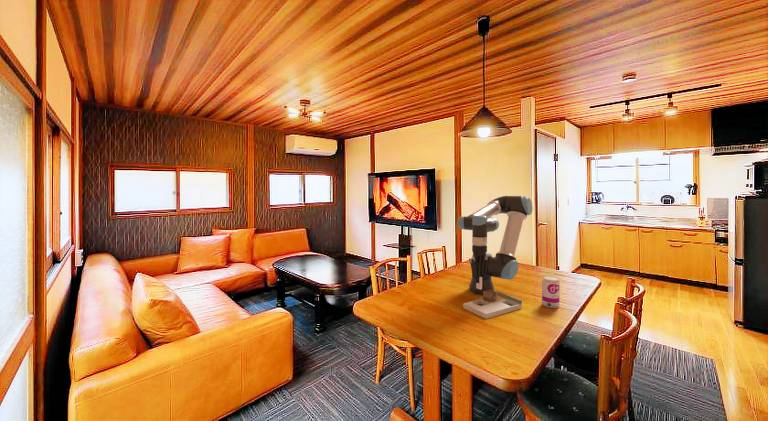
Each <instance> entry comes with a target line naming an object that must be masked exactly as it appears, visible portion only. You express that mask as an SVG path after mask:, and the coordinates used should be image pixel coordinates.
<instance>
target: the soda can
mask: <svg viewBox="0 0 768 421" xmlns="http://www.w3.org/2000/svg"><path fill="white" fill-rule="evenodd" d="M541 281H542V284H541V285H542V287H541V288H542V289H541V304H542V305H543V307H545V308H550V309H557V308H559V307H560V296H561V295H560V290H561V288H560V286H561V282H560V280H559V278H558V277H554V276H544V277H543V279H542V280H541Z"/></svg>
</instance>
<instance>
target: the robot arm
mask: <svg viewBox="0 0 768 421" xmlns="http://www.w3.org/2000/svg"><path fill="white" fill-rule="evenodd" d="M532 212H533V202H532V200H531V198H530V197H529V196H526V195H503V196H499V197H497V198H494V199H492V200H490V201H489V202H488V203H487V204H486V205H485V206H483V207H481V208H479V209H478V210H476V211H473V213H471V214H469V215H467V216H459V218H458V220H457V227H458V228H459V229H460V230H465V231H472V232H471V233H472V236H471V237H472V238H471V239H472V240H471V243H472V245H471V251H472V256H471V258H469V259H468V261H469V263H470V267H471V268H470V269H471V279H470V283H469V285H468V291H469V292H471V293H474V294H477V295H483V291H486V290H492V291H495V287H494V283H493V281H492V280H493V279H492V277H493V278H497V279H501V280H509V281H510V280H513V279H514V278H515V277H516V276H517V274H518V272H519V262H518V261H517V257H516V256H515V254H516V251H517V247H518V244H519V243H518V242H519V238H520V234H521V231H522V230H521V229H522V228H523V227H522V226H523V223H524V220H526V219H527V217H528V216H530V215H532ZM499 214H506V215H507V217H508V218H507V221H506V226H505V230H504V233H503V237H502V241H501V244H500V247H499V248H500V249H499V251H498V252H496V253H495V256H493V254H492V253H488V245H487V244H488V233H491V232H492V233H493V232H495V231H497V230H498V229H499V227H500V222H499V220H498V219H497V218H495V217H493V216H497V215H499Z"/></svg>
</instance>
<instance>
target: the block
mask: <svg viewBox="0 0 768 421" xmlns="http://www.w3.org/2000/svg"><path fill="white" fill-rule="evenodd" d="M482 299H483V300H484V301H487V302H489V303H491V302H495V301H497V291H495V290H494V291H492V290H486V291H483V294H482Z"/></svg>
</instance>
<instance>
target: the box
mask: <svg viewBox="0 0 768 421" xmlns="http://www.w3.org/2000/svg"><path fill="white" fill-rule="evenodd" d="M496 292H497V301H495V302H491V303H489V302H487V301H484V300H483V298H479V299H475V300H471V301H468V302H464V303H463V306H462V307H463V308H462V309H465V310H467V311H468V312H471V313H473V314H475V315H476V316H477V315H478V316H479V317H481V318H484V319H485V320H487V319H491V318H494V317H497V316H500V315H505V314H507V313H511V312H513V311H517V310H521V309H522V308H523V304H522V303H523V301H522V299H520V298H517V297H514V296H511V295H509V294H507V293H503V292H501V291H496Z"/></svg>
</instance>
